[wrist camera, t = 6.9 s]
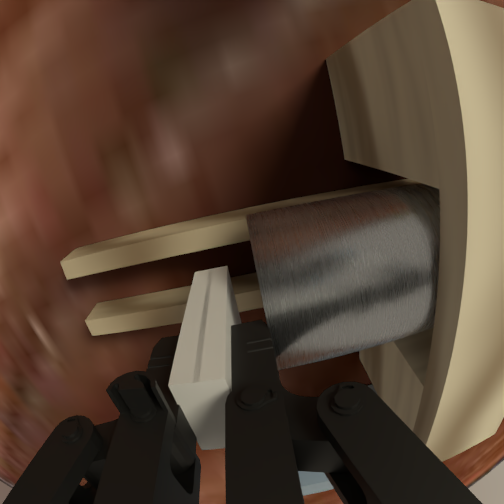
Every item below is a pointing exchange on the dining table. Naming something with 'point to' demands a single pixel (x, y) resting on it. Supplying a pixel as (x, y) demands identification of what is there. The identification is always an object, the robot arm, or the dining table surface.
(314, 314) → the axle
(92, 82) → the dining table surface
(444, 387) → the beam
